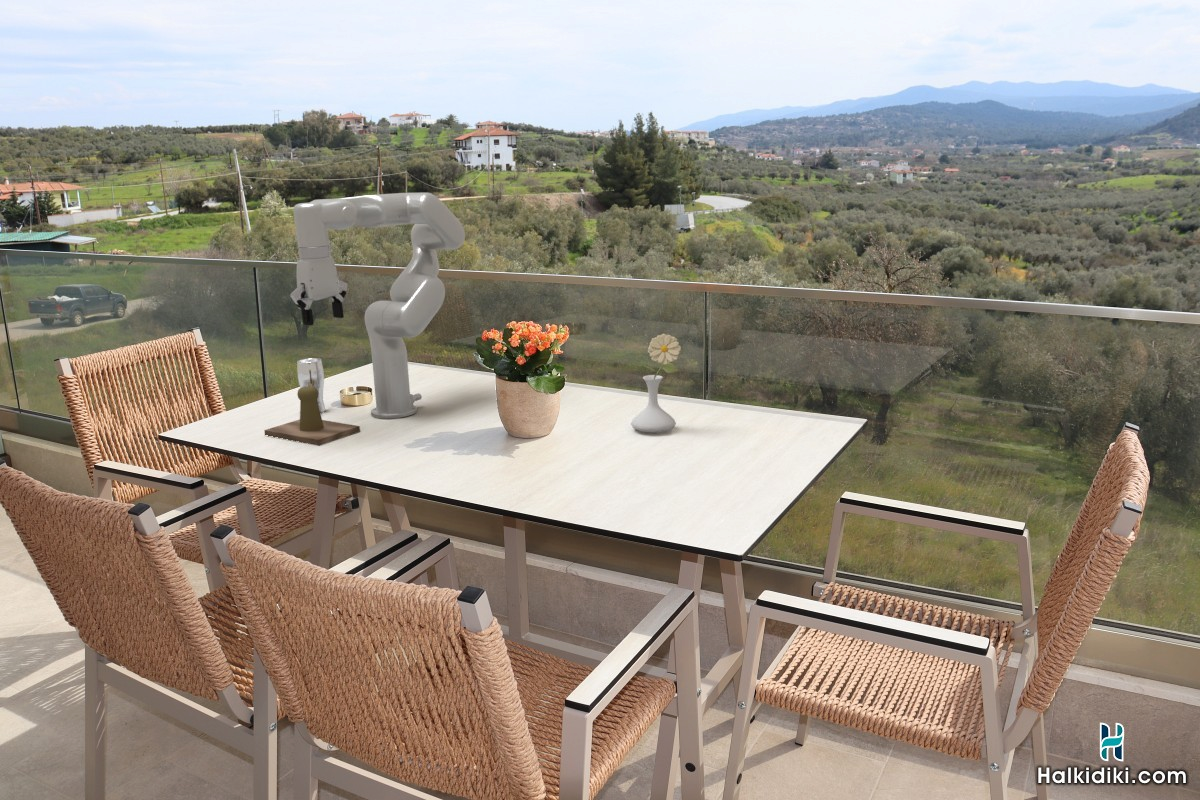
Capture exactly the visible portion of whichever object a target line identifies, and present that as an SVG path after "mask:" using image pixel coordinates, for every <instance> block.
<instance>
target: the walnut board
mask: <svg viewBox="0 0 1200 800" xmlns="http://www.w3.org/2000/svg"><path fill="white" fill-rule="evenodd" d="M322 422H323V426H324V428H323V429H320V430H317V431H301V430H300V418H299V419H297V420H293V421H289V422H287V423H284V424H280V425H277V426H274V427H271V428H267V429H264V436H265V435H268V436H267V437H269V436H273V437H272V438H275V437H278V438H277V439H280V438H283V439H282V440H286V439H288V440H287V441H291V440H293V441H292V442H296V441H299V442H298V443H302V442H303V443H302V444H307V443H308V444H307V445H313V446H322V445H325V444H328V443H330V442H334V441H336V440H339V439H343V438H345V437H348V436H351V435H354V434H357V433H360V432H361V426H360V425H356V424H349V423H345V422H344V423H343V422H339V421H338V422H337V421H330V420H325V419H322Z"/></svg>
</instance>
